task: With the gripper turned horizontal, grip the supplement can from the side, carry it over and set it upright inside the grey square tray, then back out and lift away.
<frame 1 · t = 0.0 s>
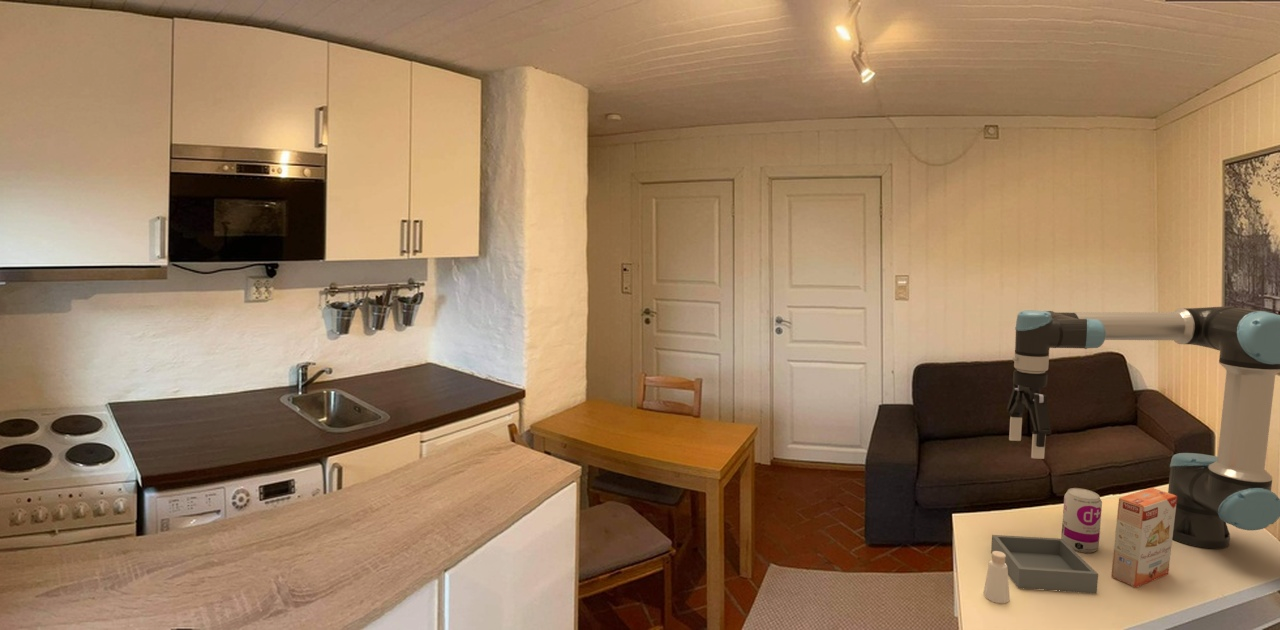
hand: (1025, 448, 163), 28 cm above the table, tool pointing down, fingers open, 13 cm apart
supplement can: (1079, 546, 167), on the table
cracker box: (1140, 577, 152), on the table
pepper shaker: (996, 598, 145), on the table
grey square tray: (1040, 571, 155), on the table
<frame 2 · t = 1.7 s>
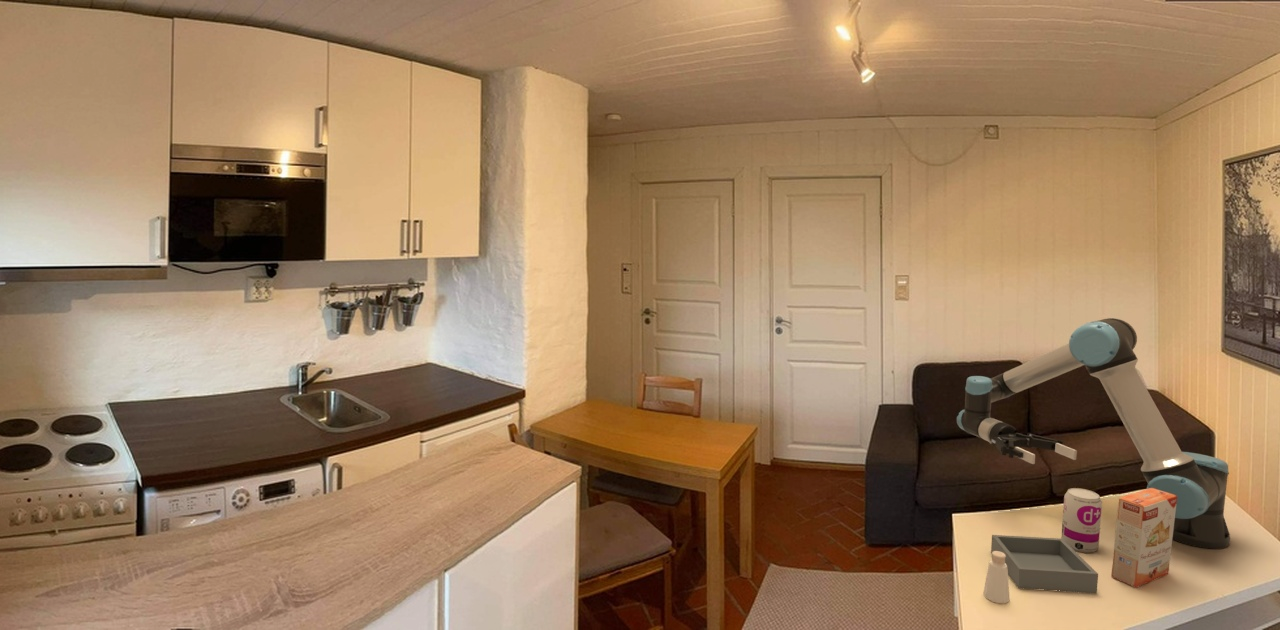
hand: (1054, 457, 174), 22 cm above the table, tool horizontal, fingers open, 13 cm apart
nothing on the table moved.
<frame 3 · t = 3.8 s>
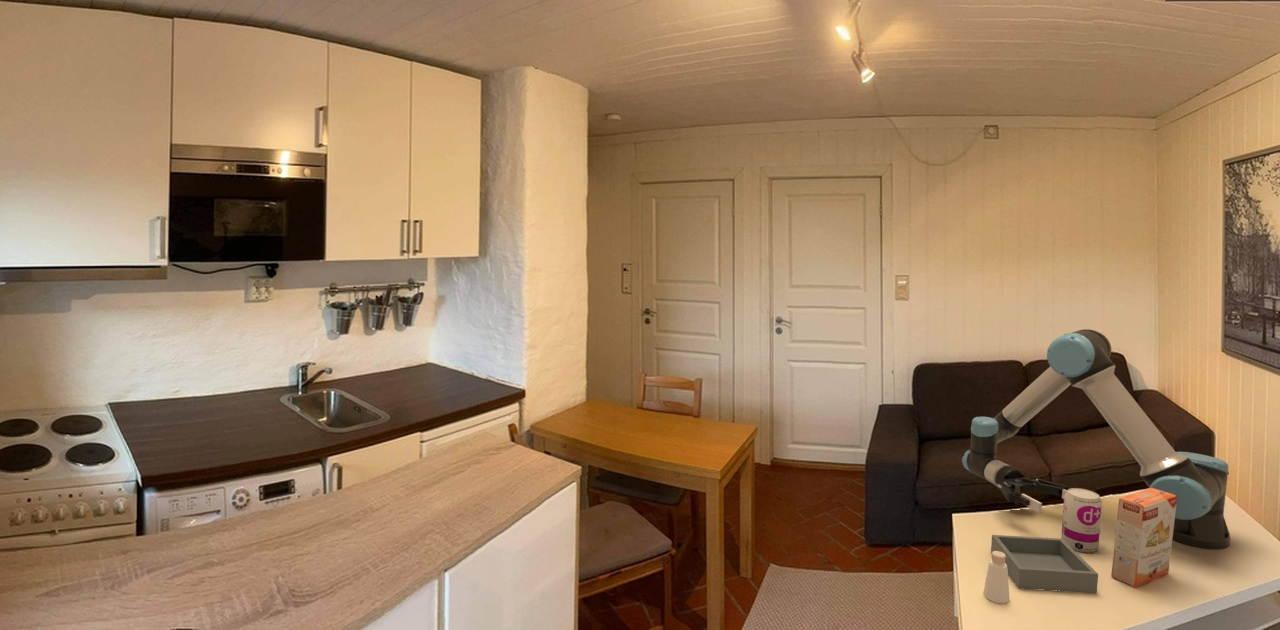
hand: (1061, 505, 172), 9 cm above the table, tool horizontal, fingers open, 13 cm apart
nothing on the table moved.
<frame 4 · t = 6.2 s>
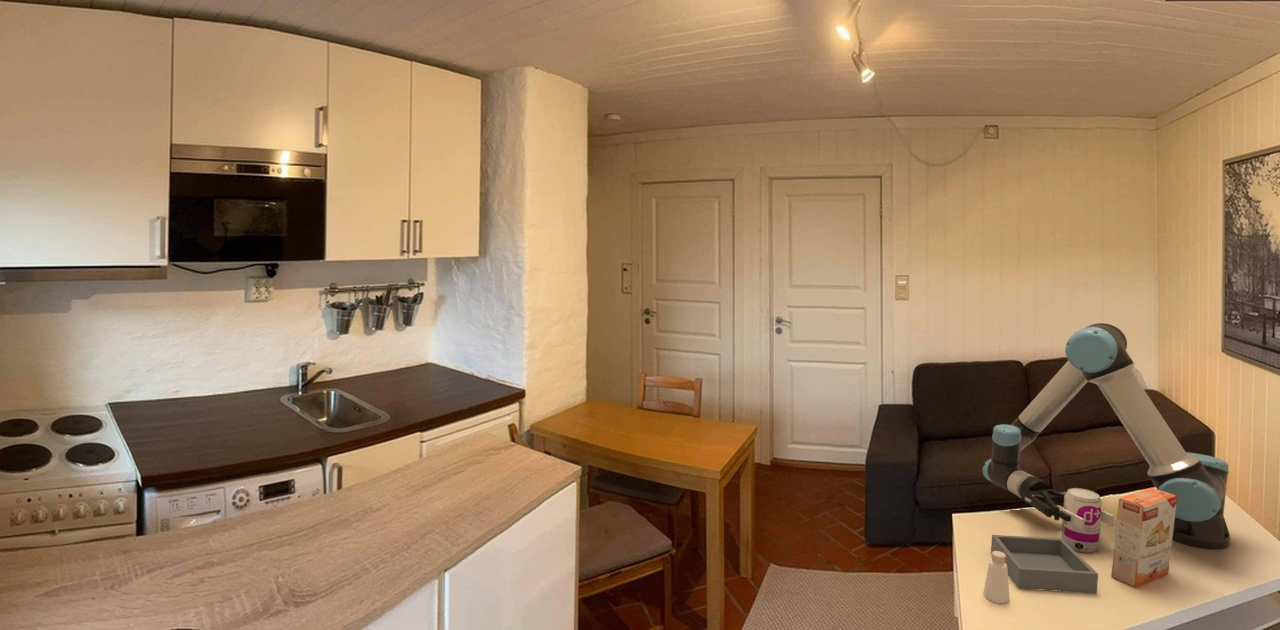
hand: (1097, 522, 161), 9 cm above the table, tool horizontal, fingers closed on supplement can, 8 cm apart
supplement can: (1079, 546, 167), on the table, touching gripper
everything else where it was.
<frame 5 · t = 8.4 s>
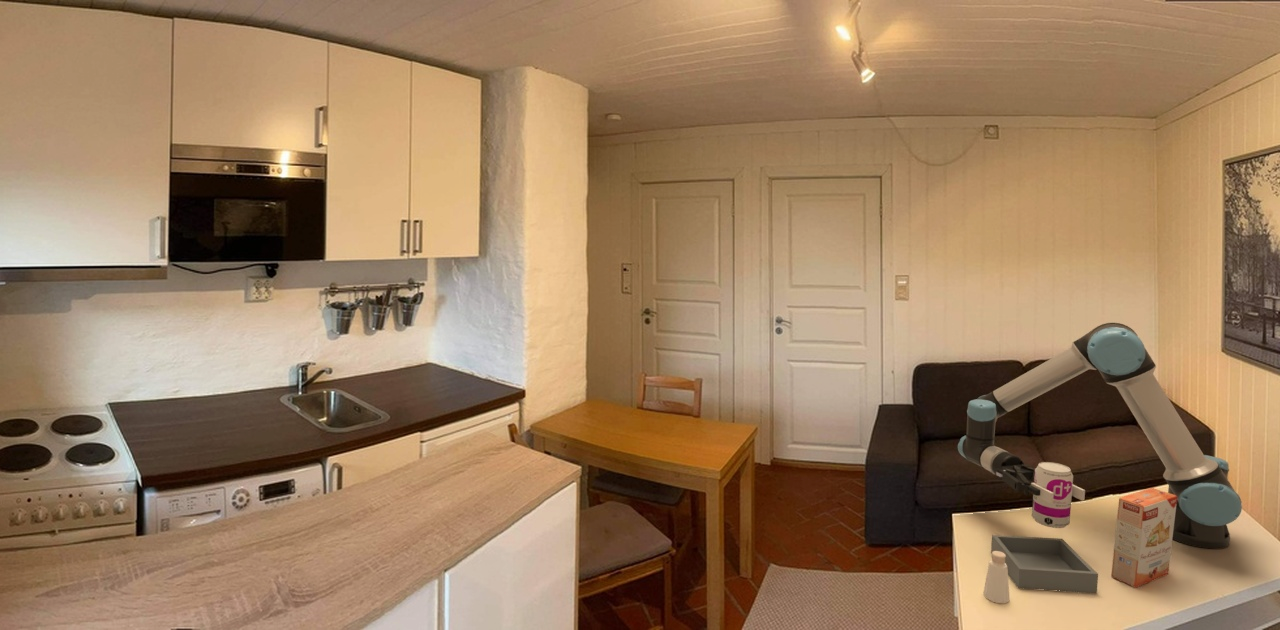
hand: (1067, 496, 156), 19 cm above the table, tool horizontal, fingers closed on supplement can, 8 cm apart
supplement can: (1050, 522, 161), point 9 cm above the table, touching gripper
everything else where it was.
when the fingers open (11 cm above the table, at t = 11.0 s): supplement can drops 1 cm, resting on grey square tray.
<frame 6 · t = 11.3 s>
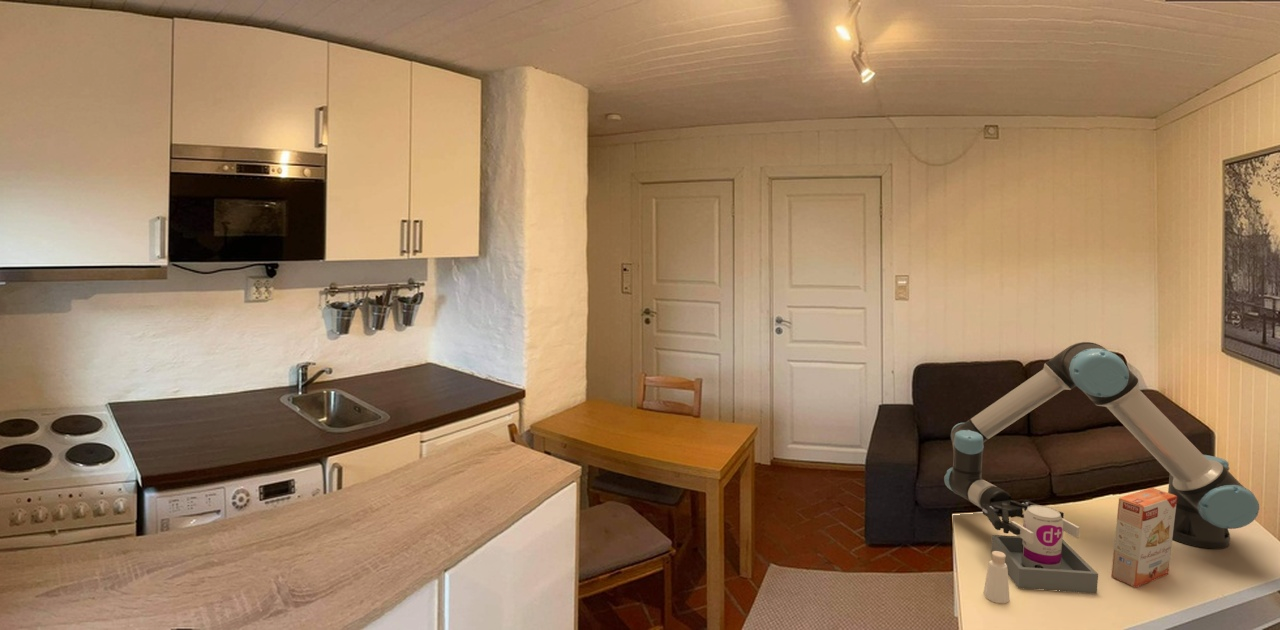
hand: (1055, 535, 150), 11 cm above the table, tool horizontal, fingers open, 12 cm apart
supplement can: (1040, 568, 155), point 1 cm above the table, touching grey square tray
everything else where it was.
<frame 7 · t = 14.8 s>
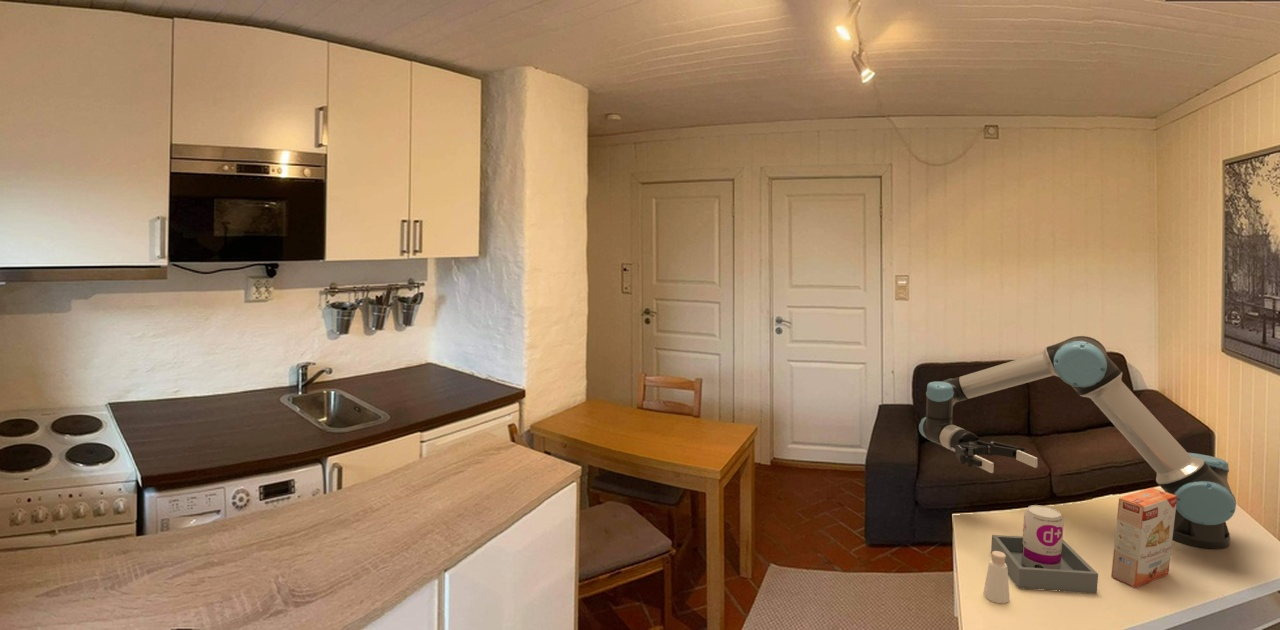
hand: (1014, 465, 166), 22 cm above the table, tool horizontal, fingers open, 13 cm apart
nothing on the table moved.
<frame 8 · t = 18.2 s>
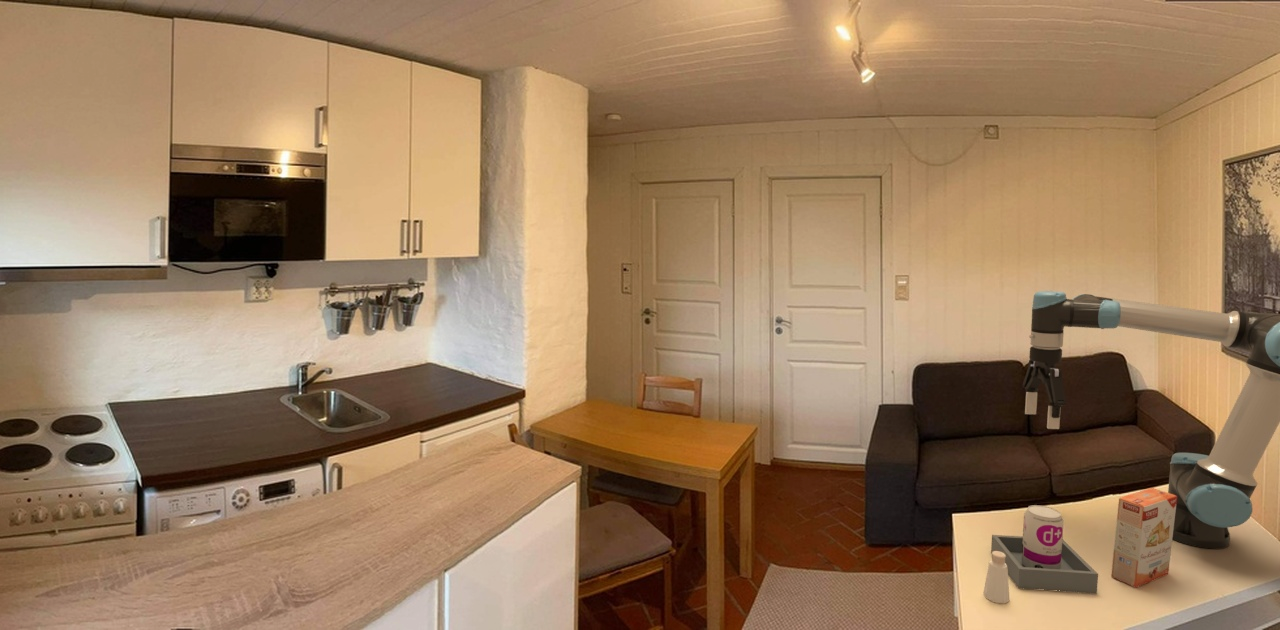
hand: (1041, 421, 174), 32 cm above the table, tool pointing down, fingers open, 13 cm apart
nothing on the table moved.
at the end: supplement can inside the target area on the grey square tray (0.1 cm from its centre), point 0.8 cm above the grey square tray's base; supplement can tilted 0°; the gripper is holding nothing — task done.
